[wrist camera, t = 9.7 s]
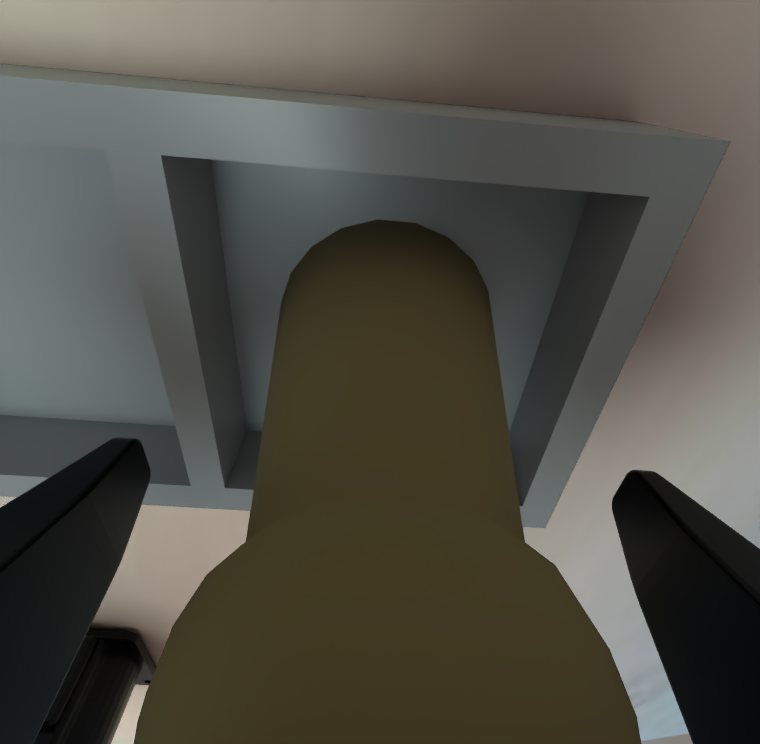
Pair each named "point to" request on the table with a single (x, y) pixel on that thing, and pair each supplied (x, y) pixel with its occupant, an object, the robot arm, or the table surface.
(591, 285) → the caddy
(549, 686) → the olive rounded piece
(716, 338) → the table surface
